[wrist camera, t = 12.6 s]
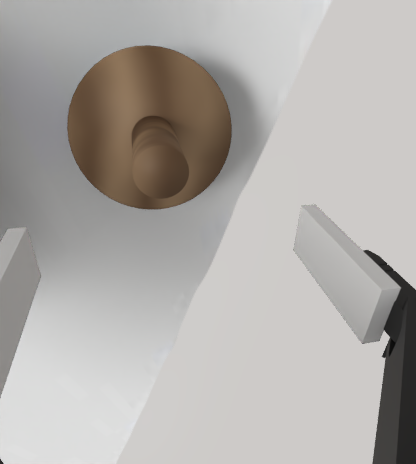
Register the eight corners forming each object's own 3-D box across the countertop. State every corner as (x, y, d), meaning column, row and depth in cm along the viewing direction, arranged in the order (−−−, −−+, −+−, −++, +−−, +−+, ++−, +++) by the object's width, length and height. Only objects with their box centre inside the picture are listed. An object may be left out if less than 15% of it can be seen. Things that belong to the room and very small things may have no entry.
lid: (83, 208, 36) (69, 267, 27) (53, 43, 28) (21, 53, 19) (224, 200, 38) (252, 251, 30) (233, 47, 30) (274, 57, 22)
